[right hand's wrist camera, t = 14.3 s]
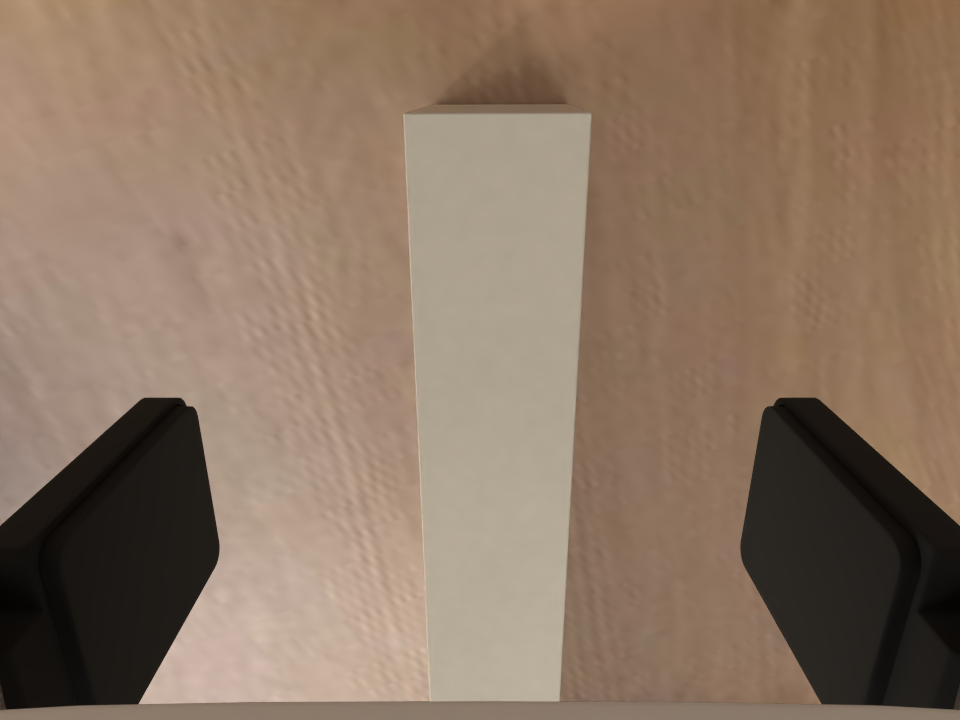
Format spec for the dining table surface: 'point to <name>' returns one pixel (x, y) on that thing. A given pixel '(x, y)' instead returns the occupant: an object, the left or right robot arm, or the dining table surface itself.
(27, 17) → the dining table surface
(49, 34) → the dining table surface
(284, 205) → the dining table surface
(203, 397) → the dining table surface
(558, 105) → the bar
